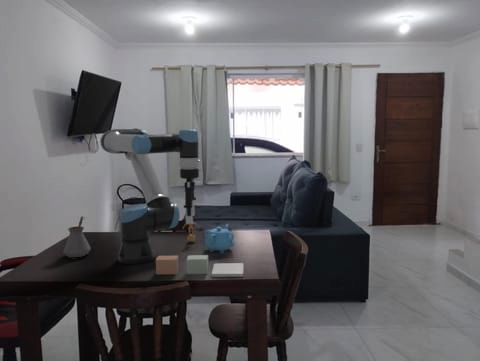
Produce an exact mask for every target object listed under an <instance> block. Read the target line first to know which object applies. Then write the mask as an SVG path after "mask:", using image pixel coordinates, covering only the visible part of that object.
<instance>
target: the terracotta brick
mask: <svg viewBox="0 0 480 361" xmlns="http://www.w3.org/2000/svg"><path fill="white" fill-rule="evenodd" d="M179 263H180V262H179V255H158V256H157V257H156V258H155V274H156V275H178V272H179V270H180V268H179V267H180V266H179Z"/></svg>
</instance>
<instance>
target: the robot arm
mask: <svg viewBox="0 0 480 361" xmlns="http://www.w3.org/2000/svg"><path fill="white" fill-rule="evenodd" d="M198 133H199V132H198V130H197V129H180V130H179V132H178V133H167V134H166V133H165V134H163V133H162V134H149V133H148V132H147V131H146V130H144V129H143V128H129V129H128V128H125V129H124V128H123V129H122V128H117V129H114V128H113V129H109V130H107V131H105V132H104V133H103V134H102V135H101V137H100V141H99V142H100V147H101V148H102V149H103V150H104V151H105V152H107V153H109V154H113V155H115V154H117V155H118V154H119V155H120V154H124V156H125V158H126V160H128V161H131V165H132V167H133V171H134V173H135V175H136V178H137V181H138V183H139V186H140V189H141V191H142V193H143V196H144V199H145V203H137V204H136V203H135V204H131V205H127V206H125V207H122V209H121V211H120V213H119V214H120V217H119V218H120V219H119V221H120V235H121V245H120V248H119V252H118V257H117V258H118V262H119V263H122V264H126V265H133V264H134V265H138V264H143V263H147V262H149V261H152V260H154V258H155V251H154V249H153V246H152V244H151V242H150V233H155V232H160V231H161V232H162V231H165V230H167V231H168V230H170V229H174V228H176V226H177V225H178V224H179V221H180V215H181V214H180V208H179V206H178V204H177V203H176V202H174V201H173V202H171V200H170V197H169V196H167V195H165V194H164V190H163V189H162V187H161V184H160V181H159V179H158V177H157V174H156V171H155V169H154V167H153V164H152V162H151V159H150V157H149V155H150V154H151V155H152V154H165V153H168V154H169V153H179V167H180V169H179V174H180V175H179V177H180V178H181V179H185V182H184V193H185V194H184V195H185V202H184V203H185V204H184V205H183V208H184V209H185V224H187V225H189V224H193V222H194V216H195V215H196V214H195V201H196V200H197V197H195V184H196V182H195V181H194V180H195V179H198V178H199V177H200V170H199V163H200V162H201V160H200V159H199V135H198ZM193 225H194V224H193Z"/></svg>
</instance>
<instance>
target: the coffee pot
mask: <svg viewBox="0 0 480 361" xmlns="http://www.w3.org/2000/svg"><path fill="white" fill-rule="evenodd" d="M79 219H80V220H79V222H78V226H71V227H68V228H67V230H68V231H69V234H68V237H67V240H66V244H65V245H64V248H63V254H64V255H65V256H66V257H68V258H69V257H81V258H83V257H82V256H84V257H86V256H87V255H88V254H89V253H90V251H91V246H90V244H89V242H88V240H87V238H86V237H85V235H84V233H83V230H84V228H85V227H84V226H82V224H83V221H84V219H86V217H85V216H80V218H79ZM86 254H87V255H86ZM85 255H86V256H85Z"/></svg>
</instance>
